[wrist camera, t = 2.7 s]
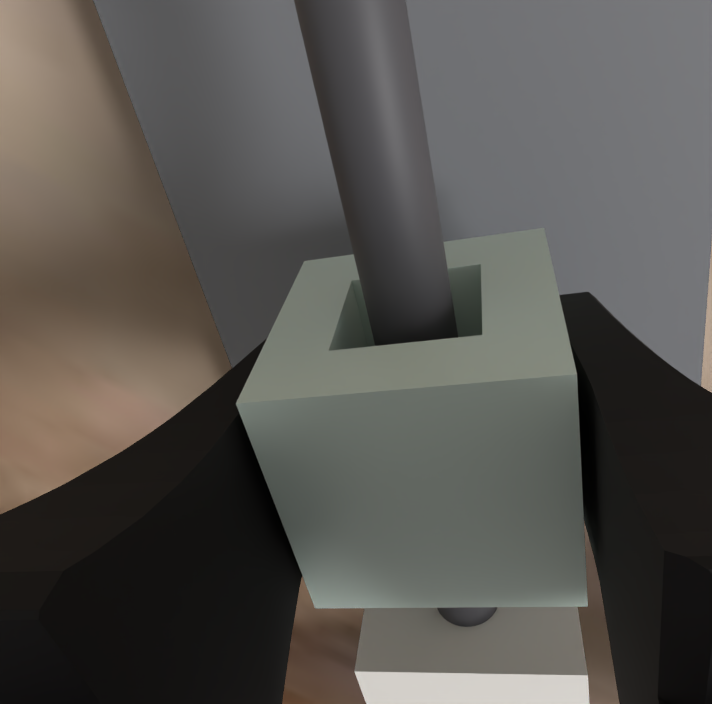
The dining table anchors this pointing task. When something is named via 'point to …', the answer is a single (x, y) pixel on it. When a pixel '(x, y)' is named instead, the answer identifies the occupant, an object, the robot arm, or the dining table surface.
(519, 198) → the cord rig
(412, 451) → the marker sleeve
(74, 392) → the dining table surface
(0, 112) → the dining table surface
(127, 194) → the dining table surface
